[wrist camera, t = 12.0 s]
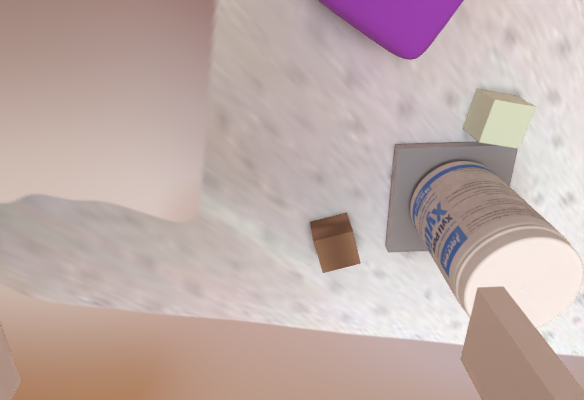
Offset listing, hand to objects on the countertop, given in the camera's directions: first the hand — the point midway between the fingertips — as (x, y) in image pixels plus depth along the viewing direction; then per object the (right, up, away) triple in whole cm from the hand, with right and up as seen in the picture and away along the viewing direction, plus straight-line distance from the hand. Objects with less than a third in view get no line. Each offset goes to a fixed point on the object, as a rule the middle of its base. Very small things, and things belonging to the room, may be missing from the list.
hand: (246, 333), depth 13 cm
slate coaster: (+18, +4, +36) cm, 41 cm away
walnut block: (+6, 0, +38) cm, 38 cm away
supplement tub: (+18, +4, +36) cm, 40 cm away
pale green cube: (+21, +12, +33) cm, 41 cm away
